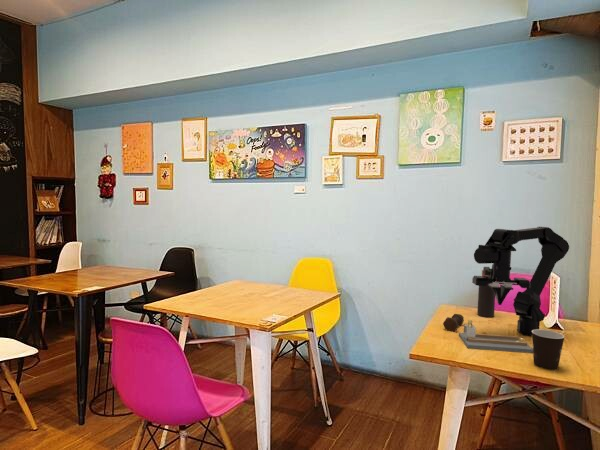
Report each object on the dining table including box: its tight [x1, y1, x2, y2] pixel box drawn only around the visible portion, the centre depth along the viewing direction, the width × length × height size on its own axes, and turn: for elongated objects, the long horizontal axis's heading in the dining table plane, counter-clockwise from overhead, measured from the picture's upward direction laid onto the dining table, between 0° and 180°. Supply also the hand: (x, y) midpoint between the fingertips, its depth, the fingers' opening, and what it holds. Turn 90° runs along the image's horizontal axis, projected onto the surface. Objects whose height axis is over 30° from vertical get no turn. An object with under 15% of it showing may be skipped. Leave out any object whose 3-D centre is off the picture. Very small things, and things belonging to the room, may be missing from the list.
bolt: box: [442, 313, 465, 333], centre depth 163 cm, size 6×5×15 cm
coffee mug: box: [531, 328, 565, 371], centre depth 126 cm, size 12×9×10 cm
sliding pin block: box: [463, 319, 477, 340], centre depth 145 cm, size 3×4×6 cm
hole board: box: [458, 332, 533, 354], centre depth 144 cm, size 21×13×2 cm, turn 81°
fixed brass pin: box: [518, 336, 526, 342], centre depth 142 cm, size 2×2×2 cm
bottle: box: [476, 269, 496, 318], centre depth 179 cm, size 7×7×20 cm
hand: (499, 304), depth 151 cm, fingers closed
